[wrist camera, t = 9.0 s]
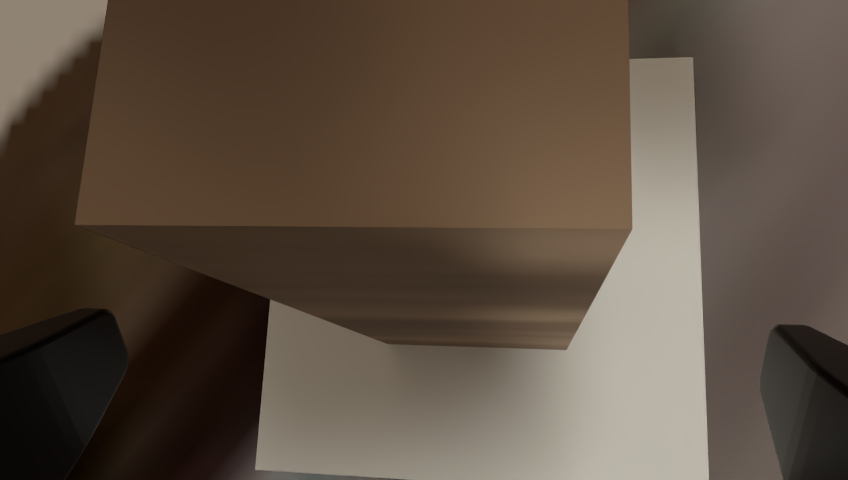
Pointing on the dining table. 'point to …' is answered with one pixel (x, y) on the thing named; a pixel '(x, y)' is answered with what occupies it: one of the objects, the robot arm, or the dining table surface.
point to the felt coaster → (525, 357)
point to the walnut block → (373, 157)
